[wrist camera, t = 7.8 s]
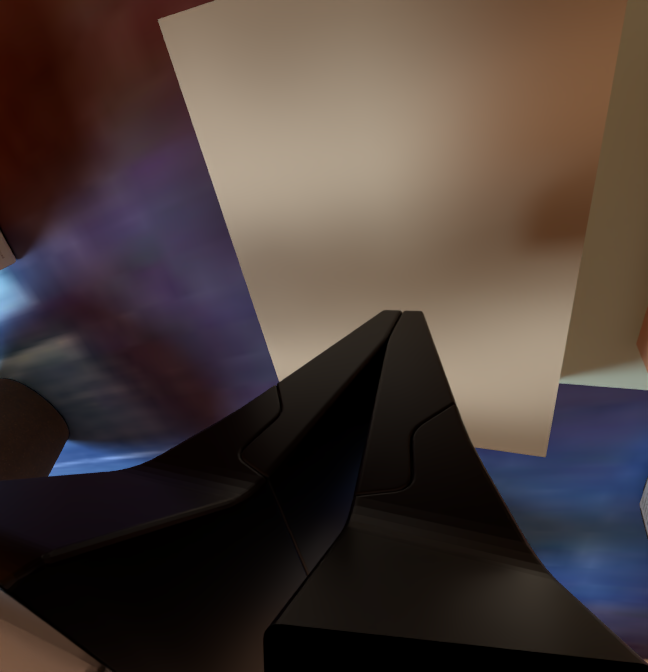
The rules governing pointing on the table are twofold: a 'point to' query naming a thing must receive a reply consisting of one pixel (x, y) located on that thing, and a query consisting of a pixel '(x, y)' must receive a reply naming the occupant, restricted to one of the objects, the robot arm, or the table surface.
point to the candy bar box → (645, 507)
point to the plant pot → (28, 433)
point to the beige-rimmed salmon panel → (644, 340)
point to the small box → (5, 253)
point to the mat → (616, 231)
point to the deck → (409, 176)
